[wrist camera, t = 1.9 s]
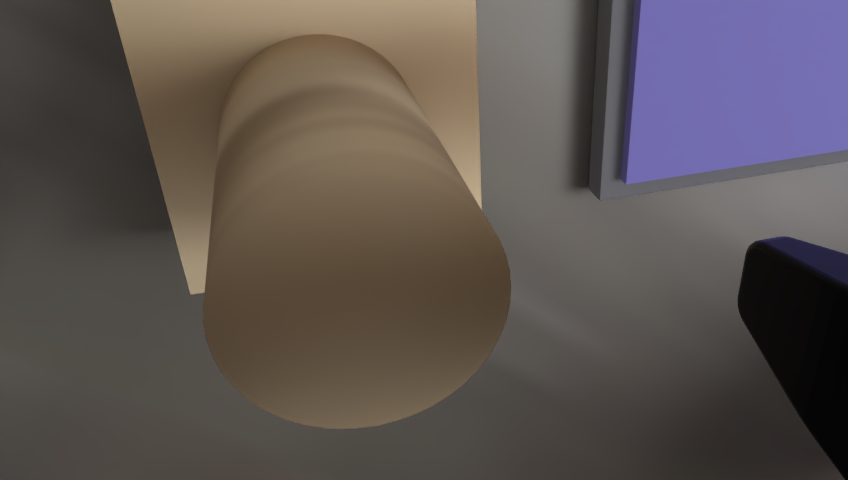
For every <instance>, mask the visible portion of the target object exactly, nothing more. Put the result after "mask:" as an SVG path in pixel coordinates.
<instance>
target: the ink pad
mask: <svg viewBox="0 0 848 480" xmlns="http://www.w3.org/2000/svg"><path fill="white" fill-rule="evenodd" d="M846 161H848V0H599V6H598V24H597V43H596V62H595V80H594V99H593V117H592V136H591V155H590V173H589V189H590V190H591V191H592V193H593V194H594V195H595V196H596V197H597V198H598V199H599V200H600V201H601V200H608V199H614V198H620V197H626V196H633V195H639V194H645V193H651V192H658V191H664V190H670V189H677V188H683V187H689V186H695V185H702V184H708V183H714V182H720V181H727V180H733V179H739V178H746V177H752V176H758V175H764V174H771V173H777V172H783V171H789V170H796V169H802V168H808V167H814V166H821V165H827V164H833V163H840V162H846Z"/></svg>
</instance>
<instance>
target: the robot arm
mask: <svg viewBox="0 0 848 480" xmlns="http://www.w3.org/2000/svg"><path fill="white" fill-rule="evenodd" d="M738 308H739V313H740V315H741V318H742V320H743V322H744V324H745V325H746V327H747V329H748V330H749V332H750V334H751V335H752V337H753V339H754V341H755V342H756V344H757V346H758V347H759V349H760V351H761V352H762V354H763V356H764V358H765V359H766V361H767V363H768V364H769V366H770V368H771V369H772V371H773V373H774V375H775V376H776V378H777V380H778V381H779V383H780V385H781V386H782V388H783V390H784V392H785V393H786V395H787V397H788V398H789V400H790V402H791V403H792V405H793V407H794V408H795V410H796V411H797V413H798V415H799V416H800V418H801V419H802V421H803V422H804V424H805V425H806V427H807V428H808V430H809V431H810V432H811V434H812V435H813V437H814V438H815V440H816V441H817V442H818V444H819V445H820V446H821V448H822V449H823V450H824V452H825V453H826V454H827V456H828V457H829V458H830V460H831V461H832V463H833V464H834V465H835V467H836V468H837V469H838V471H839V472H840V473H841V475H842V476H843V477H844V479H845V480H848V254H844V253H841V252H838V251H834V250H831V249H828V248H824V247H821V246H818V245H814V244H811V243H807V242H804V241H801V240H797V239H794V238H791V237H776V238H770V239H765V240H759V241H755V242H754V243H752V244H751V245H750V246H749V248H748V249H747V252H746V255H745V261H744V266H743V272H742V277H741V283H740V288H739V294H738Z"/></svg>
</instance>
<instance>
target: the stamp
mask: <svg viewBox="0 0 848 480" xmlns="http://www.w3.org/2000/svg"><path fill="white" fill-rule="evenodd" d="M110 1H111V5H112V8H113V12H114V16H115V19H116V23H117V27H118V30H119V34H120V38H121V41H122V45H123V49H124V52H125V56H126V60H127V63H128V67H129V71H130V74H131V78H132V82H133V85H134V89H135V93H136V96H137V100H138V104H139V107H140V111H141V115H142V118H143V122H144V126H145V129H146V133H147V137H148V140H149V144H150V148H151V151H152V155H153V159H154V162H155V166H156V170H157V173H158V177H159V181H160V184H161V188H162V192H163V195H164V199H165V203H166V206H167V210H168V214H169V217H170V221H171V224H172V228H173V232H174V235H175V239H176V243H177V246H178V250H179V254H180V257H181V261H182V265H183V268H184V272H185V276H186V279H187V283H188V287H189V290H190V294H191V295H192V294H198V293H204V292H205V293H204V305H203V313H204V328H205V333H206V339H207V342H208V345H209V348H210V351H211V353H212V356H213V358H214V360H215V362H216V363H217V365H218V367H219V369H220V371H221V372H222V373H223V375H224V376H225V377H226V378H227V380H228V381H229V382H230V384H231V385H232V386H233V387H234V388H235V389H237V390H238V391H239V392H240V393H241V394H242V395H243V396H244V397H245V398H247V399H248V400H250V401H251V402H252V403H254V404H255V405H256V406H258V407H260V408H262V409H264V410H265V411H267V412H269V413H271V414H273V415H275V416H278V417H281V418H283V419H286V420H288V421H292V422H295V423H299V424H303V425H307V426H313V427H320V428H331V429H354V428H365V427H372V426H378V425H382V424H386V423H390V422H394V421H398V420H401V419H403V418H406V417H409V416H412V415H414V414H417V413H419V412H421V411H423V410H425V409H427V408H429V407H431V406H433V405H435V404H436V403H438V402H440V401H441V400H443V399H445V398H446V397H448V396H449V395H450V394H452V393H453V392H454V391H456V390H457V389H458V388H460V387H461V386H462V385H463V384H464V383H465V382H466V381H467V380H468V379H470V378H471V377H472V376H473V375H474V373H475V372H476V371H477V370H478V369H479V368H480V367H481V365H482V364H483V363H484V362H485V360H486V359H487V357H488V356H489V355H490V353H491V352H492V350H493V349H494V347H495V345H496V343H497V341H498V339H499V337H500V335H501V333H502V330H503V327H504V325H505V322H506V319H507V315H508V310H509V306H510V296H511V280H510V270H509V266H508V262H507V258H506V254H505V252H504V249H503V247H502V245H501V242H500V240H499V238H498V237H497V235H496V233H495V232H494V230H493V228H492V227H491V225H490V223H489V222H488V220H487V218H486V216H485V215H484V213H483V211H482V205H481V170H480V134H479V98H478V63H477V27H476V0H110Z"/></svg>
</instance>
